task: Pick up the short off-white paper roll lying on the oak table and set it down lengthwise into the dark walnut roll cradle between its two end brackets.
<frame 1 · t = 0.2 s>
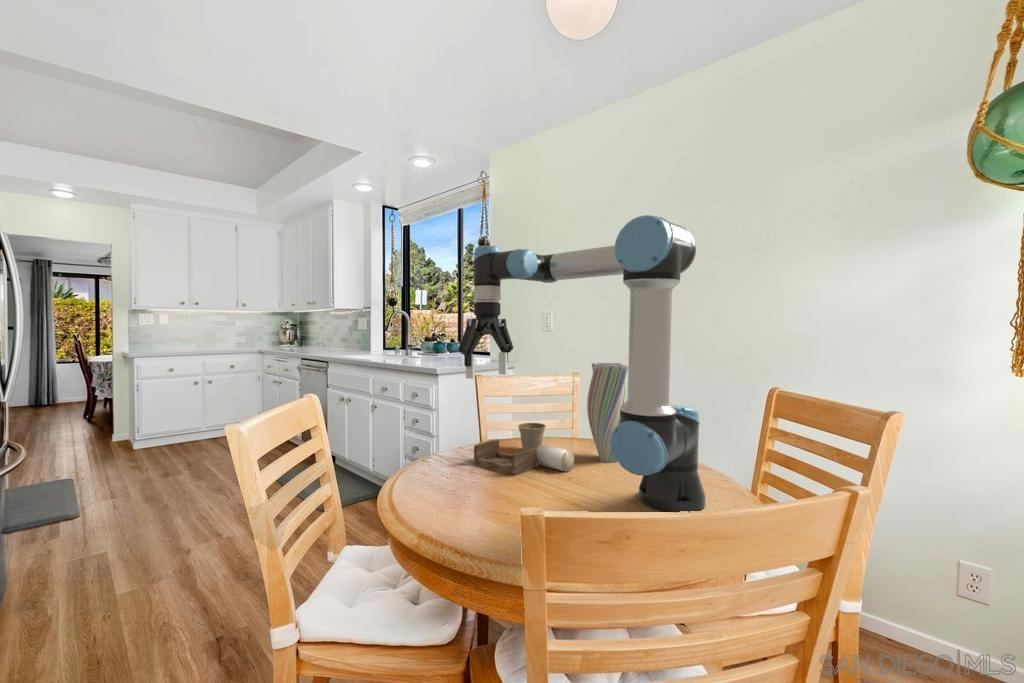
hand: (487, 376, 132), 27 cm above the table, fingers open, 13 cm apart
vase: (608, 460, 145), on the table
flower pot: (531, 451, 154), on the table
roll: (553, 468, 136), on the table, tilted 6°
cradle: (504, 466, 138), on the table
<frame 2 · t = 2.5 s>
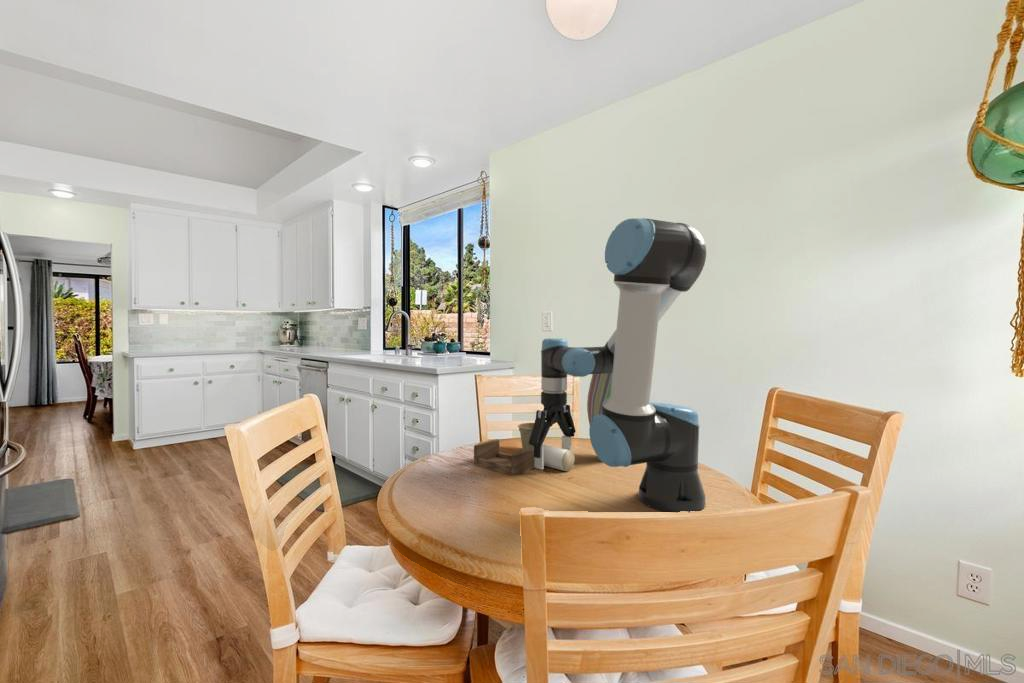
hand: (552, 462, 136), 1 cm above the table, fingers open, 13 cm apart
nothing on the table moved.
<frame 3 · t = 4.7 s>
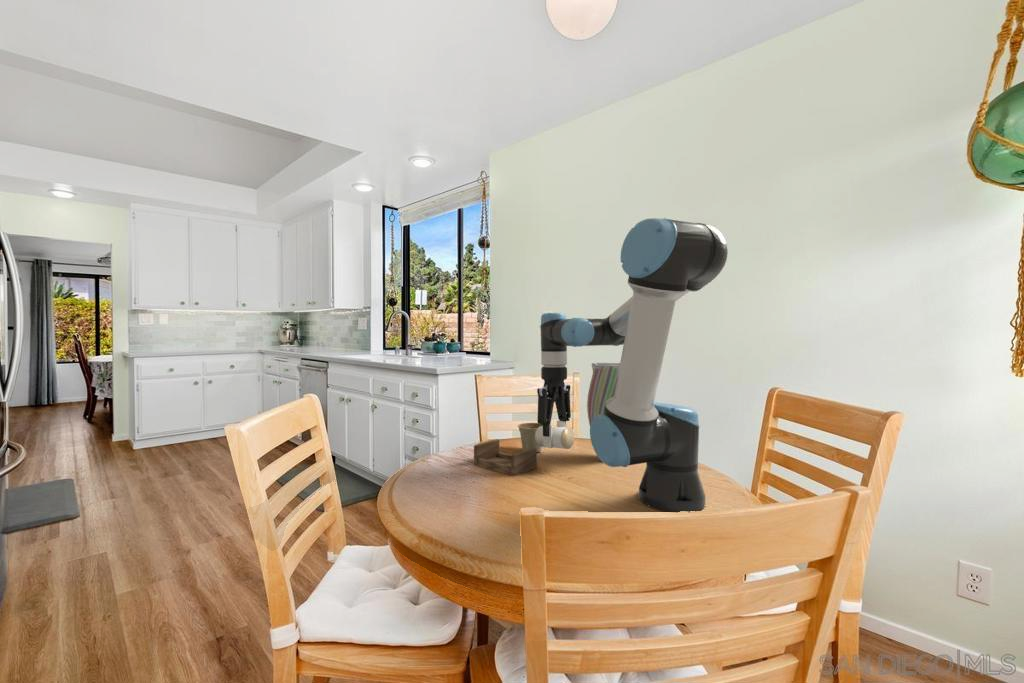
hand: (554, 444, 135), 7 cm above the table, fingers closed on roll, 6 cm apart
roll: (555, 447, 135), point 6 cm above the table, tilted 6°, touching gripper
everything else where it was.
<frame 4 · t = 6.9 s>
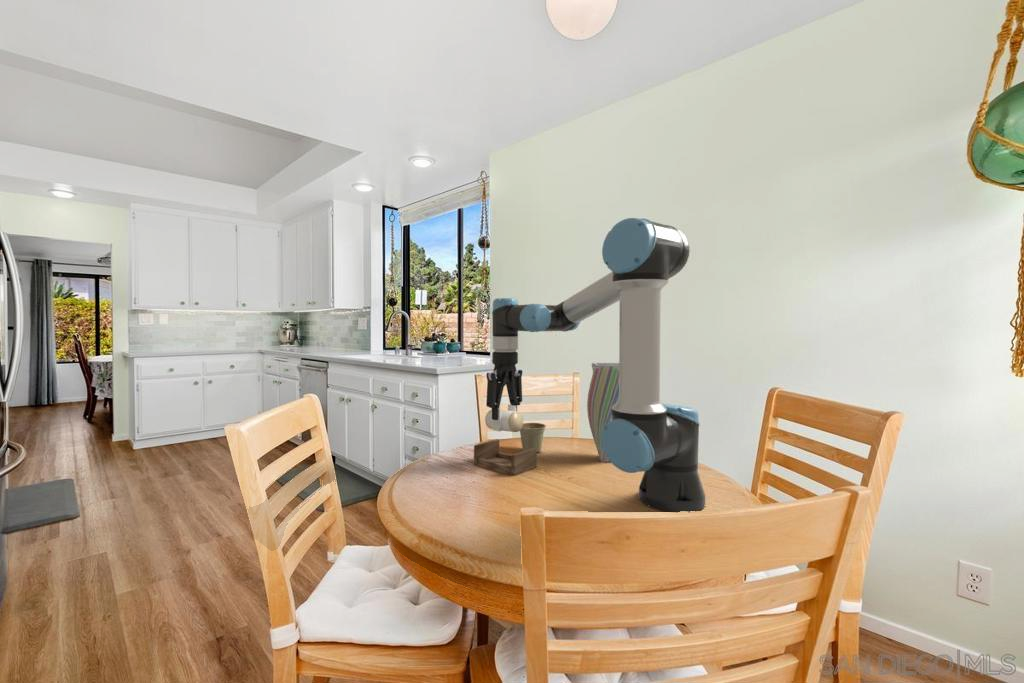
hand: (504, 428, 137), 11 cm above the table, fingers closed on roll, 6 cm apart
roll: (504, 430, 138), point 11 cm above the table, touching gripper
everything else where it was.
when the fingers open (3 cm above the table, at t = 9.1 s): roll drops 1 cm, resting on cradle.
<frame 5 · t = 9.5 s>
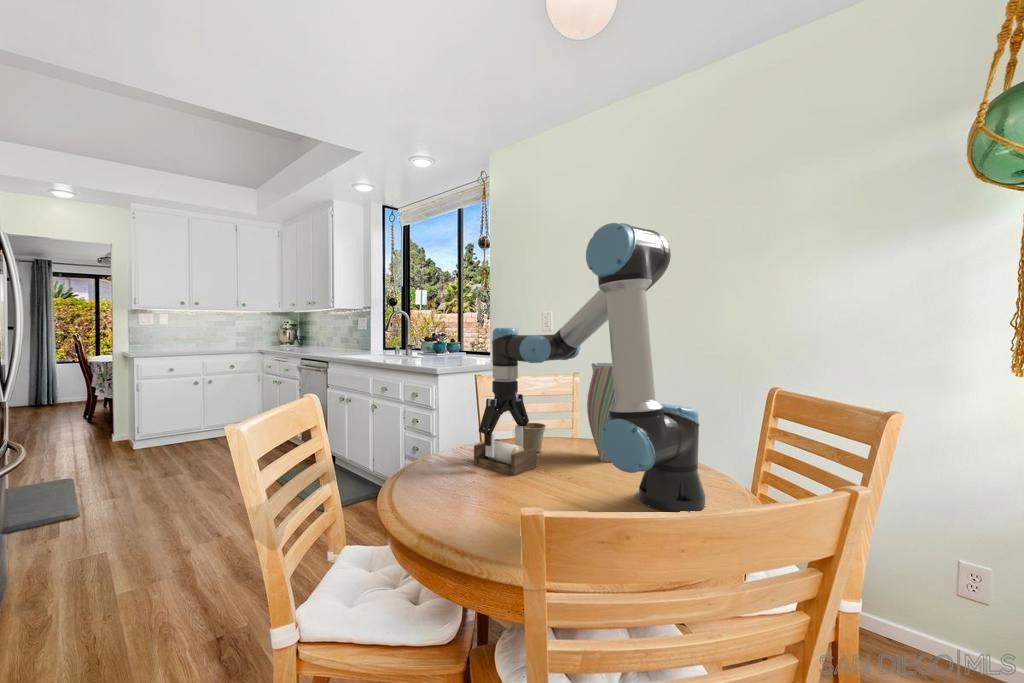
hand: (504, 451, 138), 4 cm above the table, fingers open, 12 cm apart
roll: (505, 463, 138), point 1 cm above the table, touching cradle
everything else where it was.
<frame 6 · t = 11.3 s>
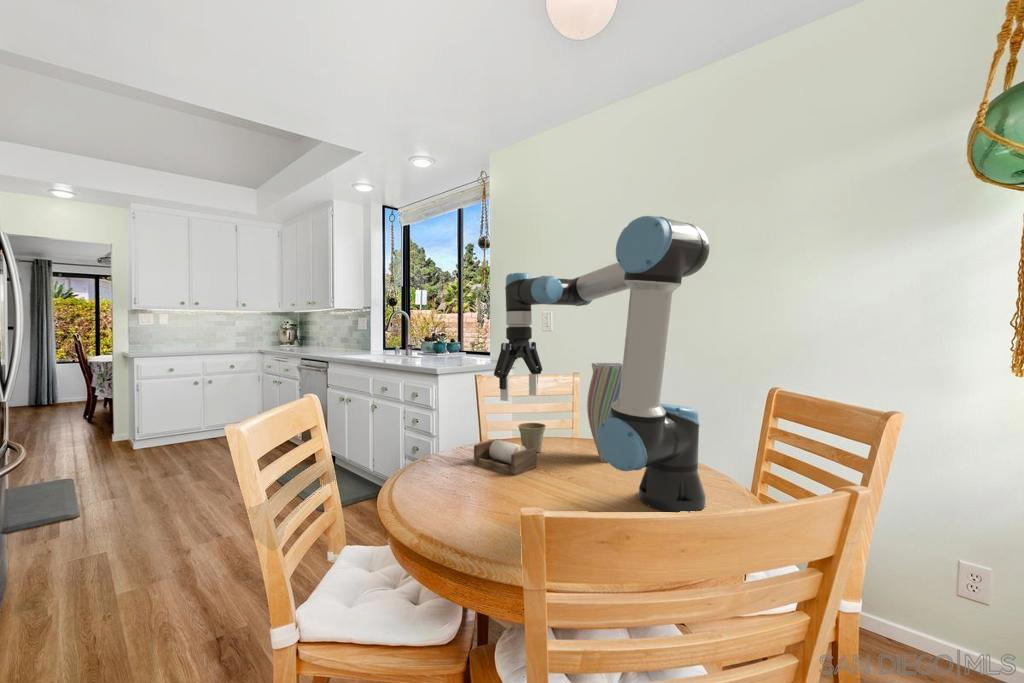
hand: (519, 398, 137), 20 cm above the table, fingers open, 13 cm apart
roll: (505, 462, 138), point 1 cm above the table, tilted 23°, touching cradle
everything else where it was.
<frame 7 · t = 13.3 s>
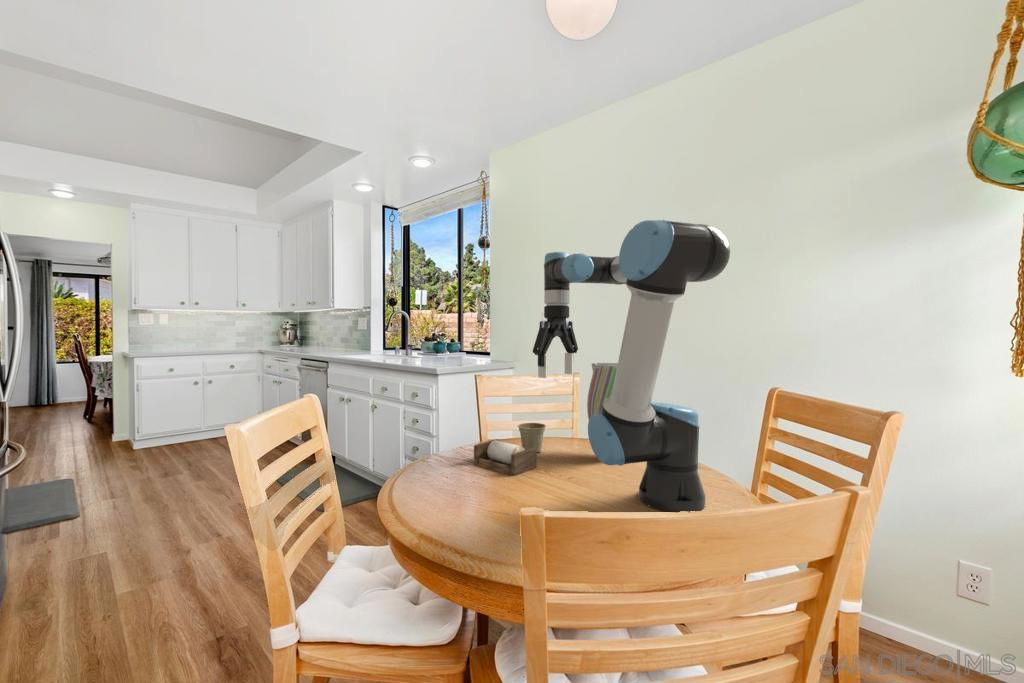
hand: (556, 375, 139), 27 cm above the table, fingers open, 13 cm apart
roll: (505, 463, 138), point 1 cm above the table, tilted 8°, touching cradle
everything else where it was.
at the end: roll 0.1 cm off-centre on the cradle, point 0.8 cm above the cradle's base; the gripper is holding nothing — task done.
